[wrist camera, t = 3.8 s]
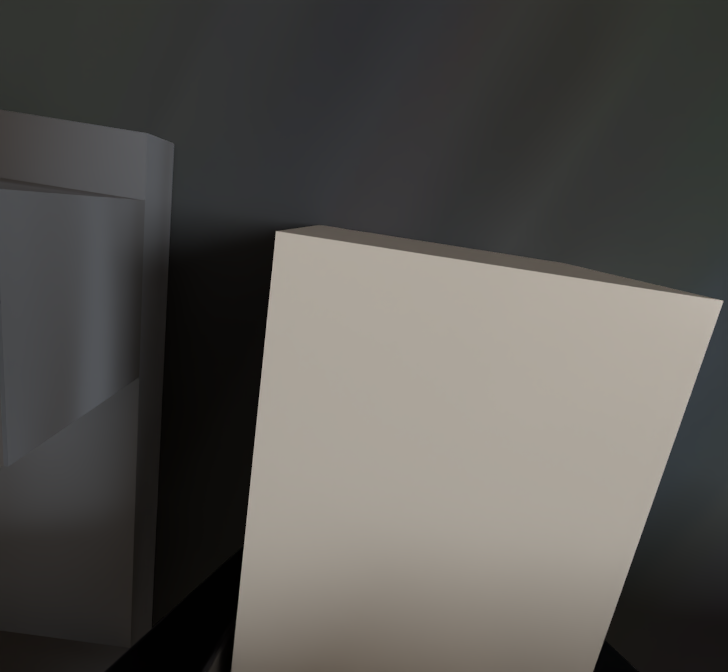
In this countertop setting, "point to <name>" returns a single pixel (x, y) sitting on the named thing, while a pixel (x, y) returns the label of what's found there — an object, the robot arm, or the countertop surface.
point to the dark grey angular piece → (79, 387)
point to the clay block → (453, 455)
